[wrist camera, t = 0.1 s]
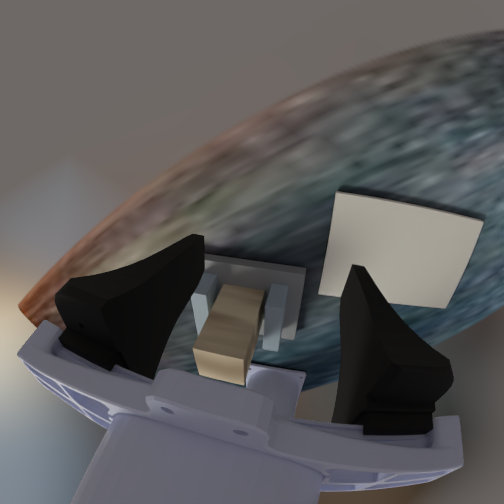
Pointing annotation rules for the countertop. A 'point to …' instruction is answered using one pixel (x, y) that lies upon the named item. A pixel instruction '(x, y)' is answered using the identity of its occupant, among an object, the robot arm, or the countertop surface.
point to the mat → (398, 248)
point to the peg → (230, 334)
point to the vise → (256, 277)
